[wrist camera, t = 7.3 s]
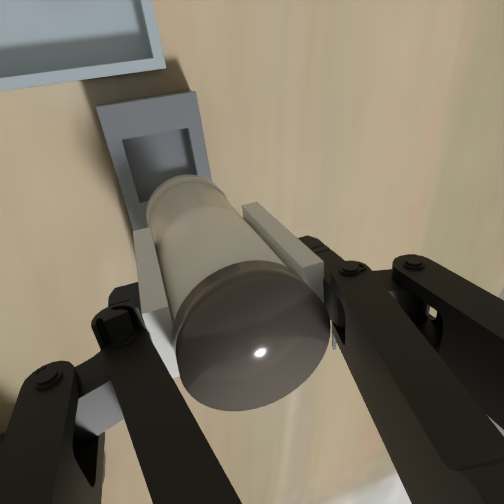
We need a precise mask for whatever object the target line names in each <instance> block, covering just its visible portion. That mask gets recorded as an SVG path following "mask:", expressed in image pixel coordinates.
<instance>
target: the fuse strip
mask: <svg viewBox="0 0 504 504" xmlns="http://www.w3.org/2000/svg"><path fill="white" fill-rule="evenodd" d="M96 109H97V113H98V116H99V119H100V123H101V126H102V129H103V132H104V136H105V139H106V142H107V145H108V149H109V152H110V155H111V159H112V162H113V165H114V168H115V172H116V175H117V178H118V182H119V185H120V188H121V191H122V195H123V198H124V201H125V204H126V208H127V211H128V214H129V218H130V221H131V224H132V227H133V231H136V230H140V229H144V228H148V224H147V218H146V211H147V205H148V202H149V199H150V197H151V196H152V194H153V192H154V191H155V190H156V189H157V188H158V187H159V186H160V185H161V184H162V183H163V182H165V181H166V180H168V179H170V178H173V177H175V176H179V175H197V176H201V177H204V178H206V179H208V180H210V181H211V182H212V179H211V173H210V168H209V162H208V157H207V151H206V145H205V140H204V134H203V129H202V123H201V118H200V112H199V106H198V101H197V95H196V92H195V91H185V92H179V93H172V94H166V95H159V96H153V97H146V98H140V99H133V100H127V101H120V102H114V103H107V104H101V105H97V106H96Z"/></svg>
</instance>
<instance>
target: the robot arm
mask: <svg viewBox="0 0 504 504" xmlns="http://www.w3.org/2000/svg"><path fill="white" fill-rule="evenodd" d="M242 210H243V217H244V219H245V221H246V222H247V223H248V224H249V225H250V226H251V227H252V228H253V229H254V231H255V232H256V233H257V234H258V235H259V236H260V237H261V238H262V240H263V241H264V242H265V243H266V244H267V245H268V246H269V247H270V248H271V250H272V251H273V252H274V253H275V254H276V255H277V256H278V257H279V258H280V260H281V261H282V262H283V263H284V264H285V265H286V266H287V267H288V268H290V269H292V270H293V271H294V272H296V273H297V274H298V275H299V276H300V277H301V278H302V279H303V280H304V281H305V282H306V284H307V285H308V286H309V287H310V288H311V289H312V290H313V291H314V292H315V293H316V294H317V296H318V297H319V298H320V299H321V300H322V302H323V303H324V305H325V307H326V309H327V311H328V314H329V318H330V319H331V321H332V346H333V350H334V349H336V343H338V346H339V348H340V350H341V352H342V354H343V356H344V359H345V361H346V363H347V365H348V367H349V369H350V371H351V374H352V376H353V378H354V380H355V382H356V384H357V387H358V389H359V391H360V393H361V395H362V397H363V399H364V402H365V404H366V406H367V408H368V410H369V412H370V415H371V417H372V419H373V421H374V423H375V425H376V427H377V430H378V432H379V434H380V436H381V438H382V440H383V443H384V445H385V447H386V449H387V451H388V453H389V455H390V458H391V460H392V462H393V464H394V466H395V468H396V471H397V473H398V475H399V477H400V479H401V481H402V483H403V486H404V488H405V490H406V492H407V494H408V496H409V499H410V501H411V503H412V504H504V436H503V435H502V434H501V433H500V431H499V430H498V429H497V428H496V426H495V425H494V424H493V423H492V421H491V420H490V419H489V417H490V418H491V419H492V420H493V421H494V422H496V423H497V424H498V425H499V426H500V427H501V428H502V429H503V430H504V301H503V300H502V299H500V298H498V297H496V296H495V295H493V294H491V293H489V292H487V291H486V290H484V289H482V288H480V287H478V286H477V285H475V284H473V283H471V282H470V281H468V280H466V279H464V278H462V277H461V276H459V275H457V274H455V273H454V272H452V271H450V270H448V269H446V268H445V267H443V266H441V265H439V264H437V263H436V262H434V261H432V260H430V259H428V258H426V257H423V256H419V255H414V254H408V255H403V256H399V257H397V258H395V259H394V261H393V263H392V269H389V270H378V271H372V270H371V269H370V268H369V267H368V266H367V265H366V264H364V263H361V262H358V261H345V260H343V259H342V258H341V257H340V256H338V255H337V254H336V253H335V252H333V251H332V250H330V248H329V247H327V246H326V245H324V243H322V242H321V241H320V240H319V239H317V238H314V237H311V236H304V237H300V238H297V237H296V236H294V235H293V234H292V233H291V232H290V231H289V230H288V229H287V228H285V227H284V226H283V225H282V224H281V223H280V222H279V221H278V220H277V219H275V218H274V217H273V216H272V215H271V214H270V213H269V212H268V211H266V210H265V209H264V208H263V207H262V206H261V205H260V204H259V203H257V202H254V203H250V204H246V205H242ZM133 238H134V247H135V256H136V266H137V275H138V282H136V283H132V284H128V285H125V286H121V287H117V288H114V290H113V291H112V293H111V294H110V296H109V300H108V306H109V307H107V308H105V309H103V310H102V311H100V312H99V313H98V314H97V315H95V317H94V318H93V320H92V321H91V327H92V330H93V332H94V334H95V337H96V339H97V342H98V344H99V346H100V349H101V351H100V352H99V353H97V354H96V355H95V356H94V357H92V358H91V359H89V360H87V361H86V362H84V363H82V364H80V365H78V366H76V367H74V365H72V364H71V363H70V362H67V361H57V362H52V363H49V364H47V365H44V366H42V367H40V368H39V369H37V370H36V371H34V372H33V373H32V374H31V375H30V376H29V377H28V378H27V379H26V380H25V381H24V383H23V385H22V387H21V389H20V392H19V395H18V398H17V401H16V404H15V407H14V410H13V413H12V416H11V419H10V422H9V425H8V428H7V431H6V433H5V434H3V435H0V504H101V496H102V485H103V481H104V476H105V452H104V443H105V432H104V431H106V430H107V429H109V428H111V427H112V426H114V425H115V424H117V423H118V422H120V421H121V420H123V419H125V422H126V425H127V428H128V431H129V434H130V437H131V440H132V443H133V446H134V449H135V452H136V455H137V458H138V461H139V463H140V466H141V469H142V472H143V475H144V478H145V481H146V484H147V487H148V490H149V493H150V496H151V499H152V502H153V504H242V503H241V501H240V499H239V497H238V495H237V494H236V492H235V490H234V488H233V486H232V485H231V483H230V481H229V479H228V477H227V476H226V474H225V472H224V470H223V468H222V467H221V465H220V463H219V461H218V459H217V458H216V456H215V454H214V452H213V450H212V449H211V447H210V445H209V443H208V441H207V440H206V438H205V436H204V434H203V432H202V431H201V429H200V427H199V425H198V423H197V422H196V420H195V418H194V416H193V414H192V413H191V411H190V409H189V407H188V405H187V404H186V402H185V400H184V398H183V396H182V395H181V393H180V391H179V389H178V387H177V385H176V384H175V382H174V380H173V378H176V377H179V376H180V375H179V370H178V365H177V360H176V356H175V351H174V346H173V341H172V331H173V321H172V317H171V312H170V308H169V304H168V299H167V295H166V290H165V286H164V282H163V277H162V273H161V269H160V264H159V260H158V256H157V251H156V247H155V243H154V240H153V236H152V232H151V229H150V227H148V228H144V229H140V230H136V231H133ZM430 306H431V307H432V308H434V309H435V310H436V311H437V316H436V318H435V317H433V316H432V315H430V314H429V309H430ZM486 414H487V415H488V416H489V417H488V416H487V415H486Z"/></svg>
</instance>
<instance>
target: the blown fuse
mask: <svg viewBox="0 0 504 504" xmlns="http://www.w3.org/2000/svg"><path fill="white" fill-rule="evenodd" d="M146 218H147V224H148V227H150V229H151V232H152V236H153V240H154V243H155V247H156V251H157V256H158V260H159V264H160V269H161V273H162V277H163V282H164V286H165V290H166V295H167V299H168V304H169V308H170V312H171V317H172V321H173V331H172V341H173V346H174V351H175V356H176V360H177V365H178V370H179V375H180V378H181V381H182V383H183V385H184V387H185V389H186V390H187V392H188V393H189V394H190V395H191V396H192V397H193V398H194V399H196V400H197V401H198V402H200V403H202V404H204V405H205V406H208V407H211V408H213V409H218V410H223V411H245V410H251V409H255V408H259V407H262V406H266V405H268V404H271V403H273V402H275V401H277V400H279V399H281V398H283V397H285V396H286V395H288V394H289V393H291V392H292V391H294V390H295V389H296V388H298V387H299V386H300V385H301V384H302V383H303V382H304V381H305V380H306V379H307V378H308V377H309V376H310V375H311V374H312V373H313V372H314V370H315V369H316V368H317V366H318V365H319V363H320V361H321V360H322V358H323V356H324V354H325V352H326V349H327V346H328V343H329V338H330V328H331V327H330V318H329V314H328V311H327V309H326V307H325V305H324V303H323V302H322V300H321V299H320V298H319V297H318V296H317V294H316V293H315V292H314V291H313V290H312V289H311V288H310V287H309V286H308V285H307V284H306V282H305V281H304V280H303V279H302V278H301V277H300V276H299V275H298V274H297V273H296V272H294V271H293V270H292V269H290V268H288V267H287V266H286V265H285V264H284V263H283V262H282V261H281V260H280V258H279V257H278V256H277V255H276V254H275V253H274V252H273V251H272V250H271V248H270V247H269V246H268V245H267V244H266V243H265V242H264V241H263V240H262V238H261V237H260V236H259V235H258V234H257V233H256V232H255V231H254V229H253V228H252V227H251V226H250V225H249V224H248V223H247V222H246V221H245V219H244V218H243V217H242V216H241V215H240V214H239V213H238V212H237V211H236V209H235V208H234V207H233V206H232V205H231V204H230V203H229V201H228V199H227V197H226V196H225V195H224V193H223V192H222V191H221V190H220V189H219V188H218V187H217V186H216V185H215V184H214V183H213V182H211V181H210V180H208V179H206V178H204V177H201V176H197V175H179V176H175V177H173V178H170V179H168V180H166V181H165V182H163V183H162V184H161V185H160V186H159V187H158V188H157V189H156V190H155V191H154V192H153V194H152V196H151V197H150V199H149V202H148V205H147V211H146Z"/></svg>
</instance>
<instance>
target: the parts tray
mask: <svg viewBox="0 0 504 504" xmlns="http://www.w3.org/2000/svg"><path fill="white" fill-rule="evenodd" d="M164 68H166V64H165V59H164V55H163V50H162V45H161V40H160V36H159V31H158V26H157V21H156V16H155V12H154V7H153V2H152V0H0V91H5V90H12V89H20V88H27V87H34V86H41V85H49V84H56V83H63V82H70V81H78V80H85V79H92V78H99V77H107V76H114V75H121V74H128V73H136V72H143V71H150V70H157V69H164Z"/></svg>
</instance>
